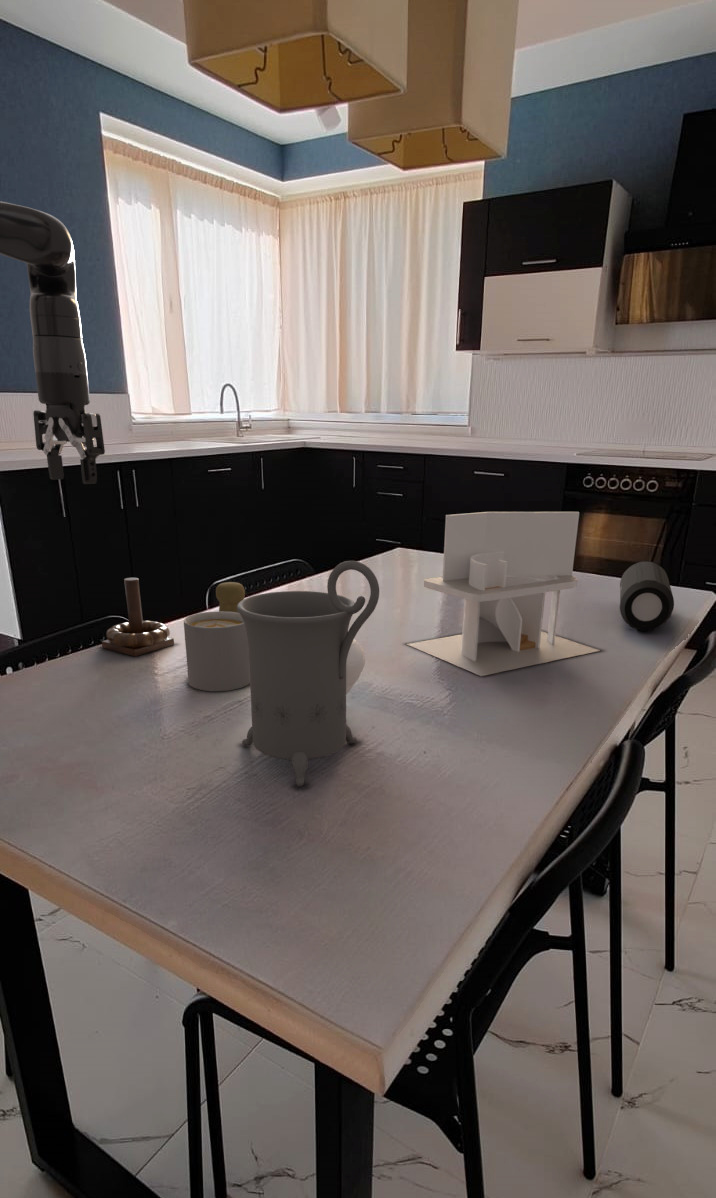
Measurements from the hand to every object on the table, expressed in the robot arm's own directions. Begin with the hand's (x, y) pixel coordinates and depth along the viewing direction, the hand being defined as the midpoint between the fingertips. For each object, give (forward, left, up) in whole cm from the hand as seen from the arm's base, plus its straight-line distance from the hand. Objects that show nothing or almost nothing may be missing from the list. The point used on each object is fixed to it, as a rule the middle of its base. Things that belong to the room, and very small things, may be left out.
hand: (73, 481), depth 124 cm
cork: (+15, +19, -29) cm, 38 cm away
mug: (+58, -12, -29) cm, 66 cm away
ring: (+3, +7, -26) cm, 27 cm away
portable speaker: (+70, +83, -29) cm, 113 cm away
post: (+3, +7, -29) cm, 30 cm away
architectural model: (+56, +46, -29) cm, 78 cm away
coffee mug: (+28, +4, -29) cm, 41 cm away
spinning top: (+50, +4, -29) cm, 58 cm away
